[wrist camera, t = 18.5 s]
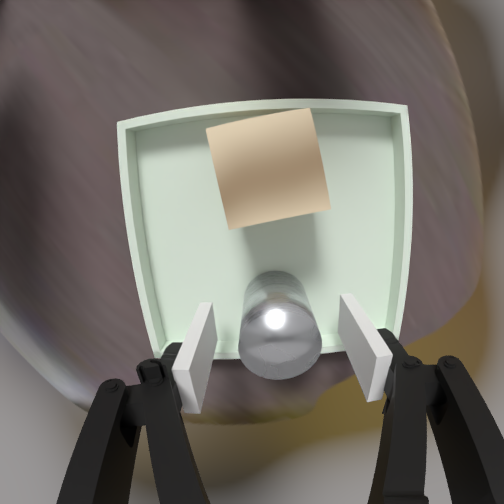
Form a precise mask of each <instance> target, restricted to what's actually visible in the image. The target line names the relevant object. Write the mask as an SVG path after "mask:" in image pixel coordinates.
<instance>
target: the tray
mask: <svg viewBox="0 0 504 504" xmlns="http://www.w3.org/2000/svg"><path fill="white" fill-rule="evenodd" d="M304 108H310V110H311V114H312V118H313V122H314V126H315V130H316V135H317V139H318V144H319V148H320V153H321V158H322V163H323V168H324V173H325V178H326V183H327V189H328V194H329V200H330V206H331V209H330V210H325V211H320V212H315V213H310V214H304V215H299V216H294V217H289V218H284V219H279V220H275V221H270V222H265V223H260V224H255V225H250V226H246V227H241V228H236V229H232V230H229V229H228V224H227V220H226V216H225V212H224V207H223V203H222V199H221V195H220V190H219V186H218V182H217V177H216V173H215V169H214V164H213V160H212V156H211V151H210V147H209V142H208V138H207V133H206V128H210V127H214V126H218V125H222V124H226V123H230V122H235V121H239V120H244V119H248V118H253V117H258V116H263V115H268V114H274V113H279V112H285V111H291V110H297V109H304ZM117 136H118V154H119V167H120V179H121V189H122V198H123V206H124V214H125V221H126V228H127V235H128V241H129V247H130V253H131V259H132V264H133V270H134V275H135V280H136V285H137V289H138V294H139V298H140V303H141V307H142V311H143V316H144V320H145V324H146V328H147V331H148V335H149V339H150V343H151V346H152V350H153V353H154V357H155V358H161V356H162V354H163V352H164V350H165V348H166V347H167V346H168V345H169V344H171V343H172V342H183V341H184V339H185V336H186V334H187V332H188V329H189V327H190V325H191V322H192V320H193V318H194V315H195V313H196V311H197V309H198V306H199V304H200V303H203V302H212V304H213V311H214V318H215V325H216V332H217V338H218V341H217V345H216V349H215V353H214V358H213V359H240V356H239V352H238V343H239V334H240V326H241V317H242V309H243V300H244V293H245V290H246V288H247V286H248V284H249V283H250V282H251V281H252V280H253V279H254V278H255V277H256V276H258V275H260V274H262V273H264V272H268V271H284V272H287V273H290V274H292V275H293V276H295V277H296V278H297V279H298V280H299V281H300V282H301V283H302V285H303V287H304V289H305V292H306V295H307V297H308V300H309V303H310V306H311V309H312V311H313V314H314V317H315V320H316V323H317V325H318V328H319V331H320V334H321V338H322V349H321V353H320V354H322V353H331V352H340V351H346V350H345V348H344V346H343V343H342V341H341V339H340V337H339V334H338V321H339V305H340V294H348V293H352V294H353V296H354V297H355V299H356V300H357V301H358V303H359V304H360V306H361V307H362V309H363V310H364V312H365V313H366V315H367V316H368V318H369V319H370V320H371V322H372V323H373V325H374V326H375V328H376V329H381V328H386V329H388V330H389V331H391V332H392V333H393V334H394V336H395V337H396V339H397V340H398V339H399V334H400V328H401V323H402V317H403V311H404V304H405V297H406V290H407V282H408V273H409V263H410V251H411V235H412V209H413V179H412V153H411V139H410V127H409V117H408V109H407V105H399V104H391V103H382V102H371V101H359V100H341V99H271V100H254V101H241V102H230V103H220V104H212V105H204V106H197V107H190V108H183V109H177V110H171V111H166V112H160V113H155V114H150V115H146V116H141V117H136V118H132V119H128V120H124V121H120V122H117Z"/></svg>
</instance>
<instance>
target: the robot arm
mask: <svg viewBox="0 0 504 504" xmlns="http://www.w3.org/2000/svg"><path fill="white" fill-rule="evenodd" d="M338 334H339V337H340V339H341V341H342V343H343V346H344V348H345V350H346V353H347V355H348V357H349V360H350V362H351V364H352V367H353V369H354V372H355V374H356V376H357V379H358V381H359V384H360V386H361V388H362V391H363V393H364V396H365V398H366V401H367V402H370V401H375V400H380V399H382V396H383V393H384V391H385V393H386V395H387V399H386V402H385V406H384V409H383V412H382V414H384V419H383V427H382V434H381V441H380V447H379V452H378V458H377V463H376V469H375V473H374V478H373V483H372V487H371V491H370V496H369V500H368V503H367V504H429V500H428V497H426V496H424V485H425V472H426V449H427V444H426V443H427V423H426V422H427V420H426V413H427V416H428V419H429V422H430V425H431V428H432V431H433V434H434V437H435V440H436V444H437V447H438V450H439V453H440V457H441V460H442V464H443V468H444V471H445V475H446V479H447V483H448V487H449V491H450V495H451V500H452V504H504V439H503V437H502V434H501V432H500V430H499V428H498V426H497V424H496V422H495V420H494V418H493V416H492V414H491V412H490V410H489V409H488V407H487V405H486V403H485V401H484V399H483V398H482V396H481V394H480V392H479V390H478V389H477V387H476V385H475V383H474V382H473V380H472V378H471V377H470V375H469V373H468V372H467V370H466V369H465V367H464V365H463V364H462V362H461V361H460V360H459V359H458V358H456V357H454V356H443V357H441V358H440V359H439V360H438V363H437V365H424V364H422V361H421V360H419V359H418V358H416V357H414V356H409V355H408V354H407V352H406V351H405V350H404V348H403V347H402V345H401V344H400V343H399V341H398V340H397V339H396V337H395V336H394V334H393V333H392V332H391V331H389V330H388V329H386V328H381V329H376V328H375V326H374V325H373V323H372V322H371V320H370V319H369V318H368V316H367V315H366V313H365V312H364V310H363V309H362V307H361V306H360V304H359V303H358V301H357V300H356V299H355V297H354V296H353V294H352V293H348V294H340V305H339V321H338ZM217 341H218V338H217V332H216V325H215V318H214V311H213V304H212V302H203V303H200V304H199V306H198V309H197V311H196V313H195V315H194V318H193V320H192V322H191V325H190V327H189V329H188V332H187V334H186V336H185V339H184V341H183V342H172V343H171V344H169V345H168V346H167V347H166V348H165V350H164V352H163V354H162V356H161V359H148V360H144V361H143V362H141V363H140V364H139V365H138V366H137V368H136V371H137V374H138V376H139V379H140V382H141V384H138V385H132V386H126V385H125V383H124V382H123V381H122V380H120V379H109V380H107V381H105V382H103V383H102V384H101V385H100V387H99V389H98V391H97V393H96V396H95V398H94V400H93V403H92V405H91V408H90V410H89V412H88V415H87V418H86V420H85V422H84V425H83V427H82V430H81V433H80V435H79V438H78V440H77V443H76V446H75V449H74V451H73V454H72V457H71V460H70V463H69V465H68V468H67V471H66V475H65V477H64V480H63V484H62V487H61V490H60V493H59V497H58V500H57V504H128V501H129V494H130V488H131V481H132V475H133V469H134V464H135V458H136V452H137V447H138V442H139V437H140V432H141V427H142V426H143V425H146V431H147V438H148V444H149V451H150V457H151V462H152V468H153V473H154V478H155V483H156V487H157V492H158V496H159V501H160V504H210V501H209V499H208V496H207V494H206V491H205V488H204V485H203V483H202V480H201V477H200V474H199V471H198V468H197V465H196V462H195V459H194V456H193V453H192V450H191V447H190V443H189V440H188V437H187V433H186V430H185V427H184V423H183V419H182V416H181V413H180V411H181V407H182V406H183V409H184V412H185V413H199V414H200V412H201V408H202V404H203V400H204V395H205V391H206V387H207V383H208V379H209V374H210V370H211V366H212V362H213V358H214V353H215V349H216V345H217Z"/></svg>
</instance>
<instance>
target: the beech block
mask: <svg viewBox="0 0 504 504" xmlns="http://www.w3.org/2000/svg"><path fill="white" fill-rule="evenodd" d="M206 133H207V138H208V142H209V147H210V151H211V156H212V160H213V164H214V169H215V173H216V177H217V182H218V186H219V190H220V195H221V199H222V203H223V207H224V212H225V216H226V220H227V224H228V229H229V230H232V229H236V228H241V227H246V226H250V225H255V224H260V223H265V222H270V221H275V220H279V219H284V218H289V217H294V216H299V215H304V214H310V213H315V212H320V211H325V210H330V209H331V206H330V200H329V194H328V189H327V183H326V178H325V173H324V168H323V163H322V158H321V153H320V148H319V144H318V139H317V135H316V130H315V126H314V122H313V118H312V114H311V110H310V108H304V109H297V110H291V111H285V112H279V113H274V114H268V115H263V116H258V117H253V118H248V119H244V120H239V121H235V122H230V123H226V124H222V125H218V126H214V127H210V128H206Z"/></svg>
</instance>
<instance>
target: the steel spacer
mask: <svg viewBox="0 0 504 504" xmlns="http://www.w3.org/2000/svg"><path fill="white" fill-rule="evenodd" d="M321 349H322V338H321V334H320V331H319V328H318V325H317V323H316V320H315V317H314V314H313V311H312V309H311V306H310V303H309V300H308V297H307V295H306V292H305V289H304V287H303V285H302V283H301V282H300V281H299V280H298V279H297V278H296V277H295V276H293V275H292V274H290V273H287V272H284V271H268V272H264V273H262V274H260V275H258V276H256V277H255V278H254V279H253V280H252V281H251V282H250V283H249V284H248V286H247V288H246V290H245V293H244V300H243V309H242V317H241V326H240V334H239V343H238V352H239V356H240V359H241V361H242V362H243V364H244V365H245V366H246V367H247V368H248V369H249V370H250V371H251V372H253V373H254V374H256V375H258V376H261V377H264V378H267V379H275V380H280V379H288V378H292V377H295V376H298V375H300V374H302V373H304V372H305V371H307V370H308V369H309V368H311V367H312V366H313V365H314V363H315V362H316V361H317V359H318V358H319V355H320V353H321Z"/></svg>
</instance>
